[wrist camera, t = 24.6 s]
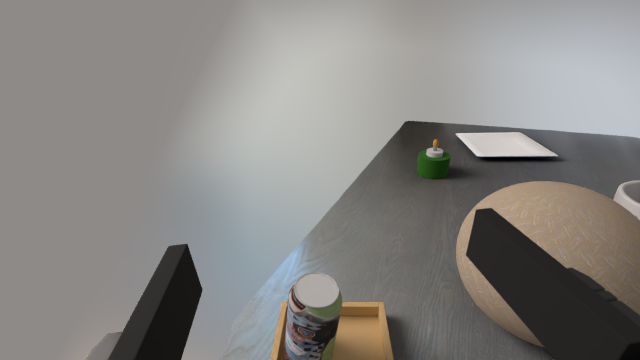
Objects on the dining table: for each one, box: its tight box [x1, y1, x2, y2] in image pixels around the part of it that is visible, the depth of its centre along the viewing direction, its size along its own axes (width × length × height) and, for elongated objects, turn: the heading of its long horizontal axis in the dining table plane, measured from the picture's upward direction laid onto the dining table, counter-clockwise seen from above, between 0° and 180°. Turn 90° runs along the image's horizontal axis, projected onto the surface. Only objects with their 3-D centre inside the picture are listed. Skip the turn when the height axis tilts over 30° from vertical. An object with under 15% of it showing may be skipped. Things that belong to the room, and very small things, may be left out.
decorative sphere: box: [456, 181, 640, 348], centre depth 36 cm, size 20×20×20 cm
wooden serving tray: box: [270, 302, 394, 360], centre depth 36 cm, size 15×14×3 cm
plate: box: [456, 132, 558, 157], centre depth 95 cm, size 22×22×2 cm
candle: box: [417, 139, 450, 179], centre depth 80 cm, size 8×8×10 cm
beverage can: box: [284, 272, 342, 360], centre depth 34 cm, size 6×7×12 cm
